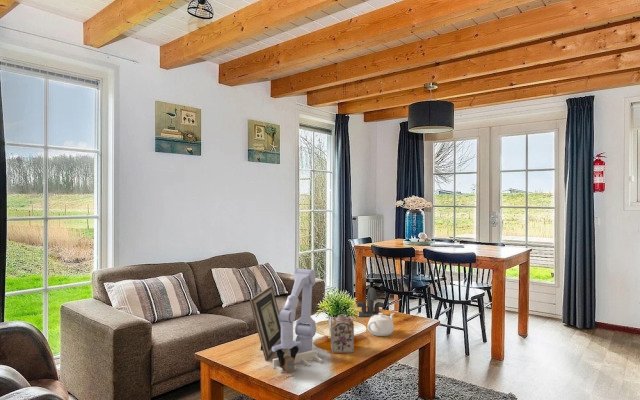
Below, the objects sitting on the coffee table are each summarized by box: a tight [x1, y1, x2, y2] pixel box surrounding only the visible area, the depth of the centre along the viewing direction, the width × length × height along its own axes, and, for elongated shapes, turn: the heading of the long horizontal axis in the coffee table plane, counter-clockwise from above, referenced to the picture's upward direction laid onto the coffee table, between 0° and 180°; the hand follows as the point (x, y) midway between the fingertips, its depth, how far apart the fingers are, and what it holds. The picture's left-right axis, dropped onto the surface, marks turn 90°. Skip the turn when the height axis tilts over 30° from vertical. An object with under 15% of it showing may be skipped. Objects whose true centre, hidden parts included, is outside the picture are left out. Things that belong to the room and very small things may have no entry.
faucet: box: [356, 286, 385, 318], centre depth 286 cm, size 18×16×20 cm
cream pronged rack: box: [271, 349, 324, 374], centre depth 205 cm, size 8×24×5 cm, turn 122°
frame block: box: [280, 353, 295, 374], centre depth 199 cm, size 6×4×6 cm, turn 31°
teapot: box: [366, 312, 395, 337], centre depth 253 cm, size 25×16×12 cm, turn 135°
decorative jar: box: [329, 313, 355, 354], centre depth 226 cm, size 12×12×18 cm
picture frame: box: [249, 285, 281, 361], centre depth 227 cm, size 33×10×30 cm, turn 168°
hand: (286, 363), depth 200 cm, fingers open, 5 cm apart
